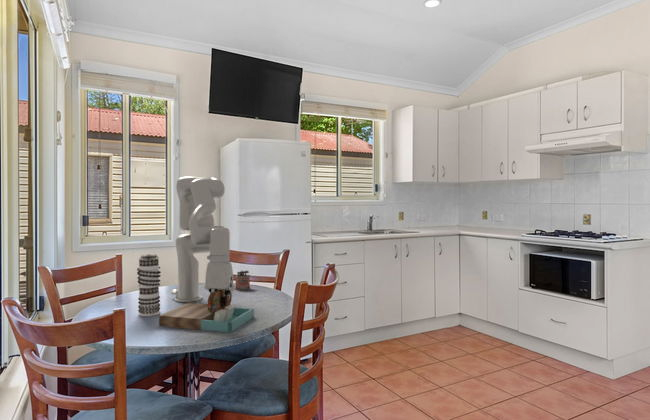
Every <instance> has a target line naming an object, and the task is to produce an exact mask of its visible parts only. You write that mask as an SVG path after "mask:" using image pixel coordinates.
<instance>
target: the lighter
mask: <svg viewBox="0 0 650 420" xmlns="http://www.w3.org/2000/svg"><path fill="white" fill-rule="evenodd" d="M249 273H250V271H249V270H240V271H237V275H234V278H235V280H234V282H235V284H234V286H235V290H234V291H246V290H245V289H247V290H251V287H250V285H251V284H250V283H251V282H250V281H251V279H250V278H251V274H249Z"/></svg>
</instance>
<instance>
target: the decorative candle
mask: <svg viewBox="0 0 650 420" xmlns="http://www.w3.org/2000/svg"><path fill="white" fill-rule="evenodd" d="M159 258H160V257H159V256H158V255H157V254H156V253H145V254H142V255H141V256H140V257H139V258H138V267H137V268H136V271H137V272H136V274H137V275H138V276H137V280H138V281H137V284H138V286H137V287H138V288H139V291H138V298H137V300H138V306H137V308H138V309H137V311H138V316H140V317H152V316H153V317H154V316H157V315H160V313H161V311H160V310H161V303H160V302H161V300H160V298H161V295H160V288H159V287H160V285H161V283H160V282H161V279H159V278H161V275H160V274H161V273H162V272H161V270H160V269H161V266H160V264H159Z"/></svg>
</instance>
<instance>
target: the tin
mask: <svg viewBox="0 0 650 420" xmlns="http://www.w3.org/2000/svg"><path fill="white" fill-rule="evenodd" d="M228 289H230V287H229V288H228ZM221 297H222V289H218V290H216V291H214V292H212V293H210V294H209V295H208V298H207V304H208V311H209V312H210V313H215V312H217V311H219V310H221V309H224V308H225V307H227V306H229V305H231V304H232V303H231V302H232V299H233V298H232V297H233V294H232V292H230V293H229V294H228V295H227V304H226V306H224V307H221Z"/></svg>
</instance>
